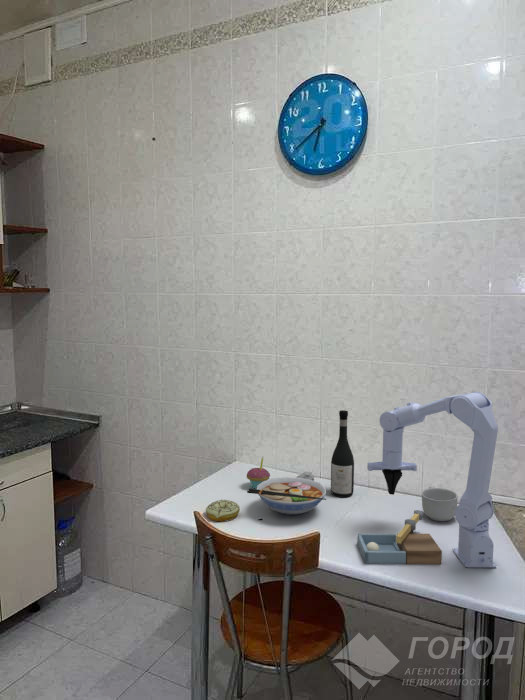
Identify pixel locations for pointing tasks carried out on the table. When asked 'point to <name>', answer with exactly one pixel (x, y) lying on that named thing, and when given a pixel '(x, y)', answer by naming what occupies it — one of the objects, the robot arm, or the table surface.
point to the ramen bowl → (290, 494)
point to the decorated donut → (222, 510)
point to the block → (420, 549)
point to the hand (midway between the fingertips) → (391, 493)
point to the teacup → (439, 503)
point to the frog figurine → (306, 476)
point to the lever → (409, 526)
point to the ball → (372, 546)
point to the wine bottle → (342, 462)
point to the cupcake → (257, 475)
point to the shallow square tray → (381, 549)
